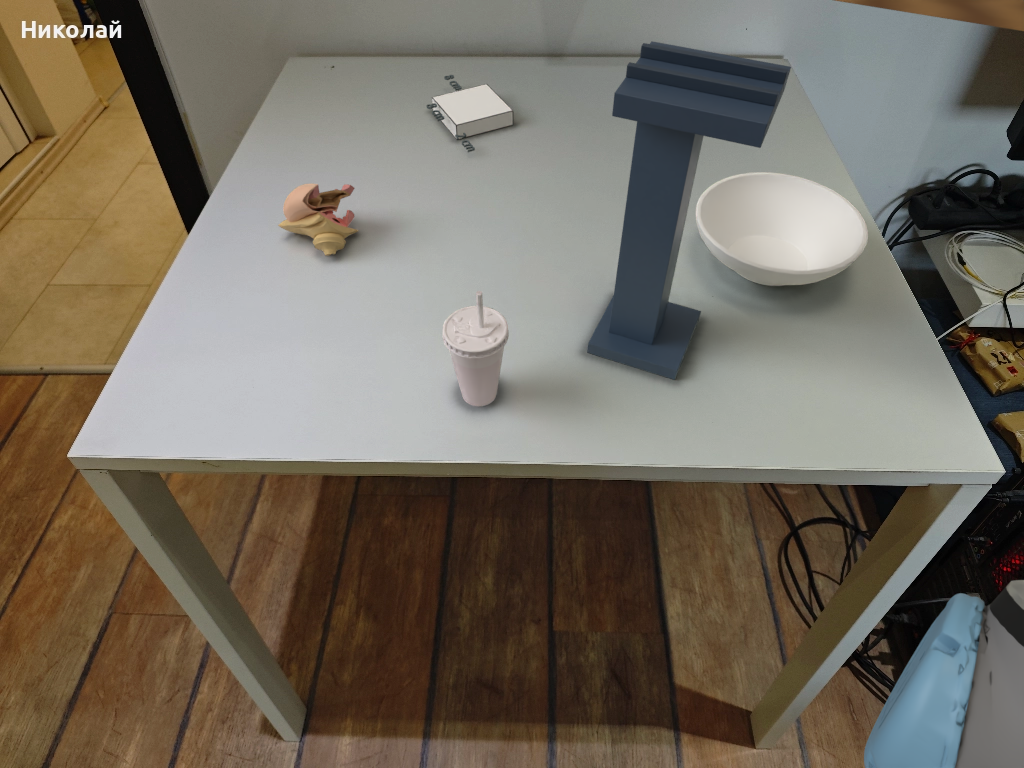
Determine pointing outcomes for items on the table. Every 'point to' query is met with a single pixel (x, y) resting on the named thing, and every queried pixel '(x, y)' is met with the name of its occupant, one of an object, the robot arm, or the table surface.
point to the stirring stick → (959, 10)
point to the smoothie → (476, 350)
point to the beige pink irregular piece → (318, 216)
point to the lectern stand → (673, 186)
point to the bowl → (780, 228)
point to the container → (471, 111)
